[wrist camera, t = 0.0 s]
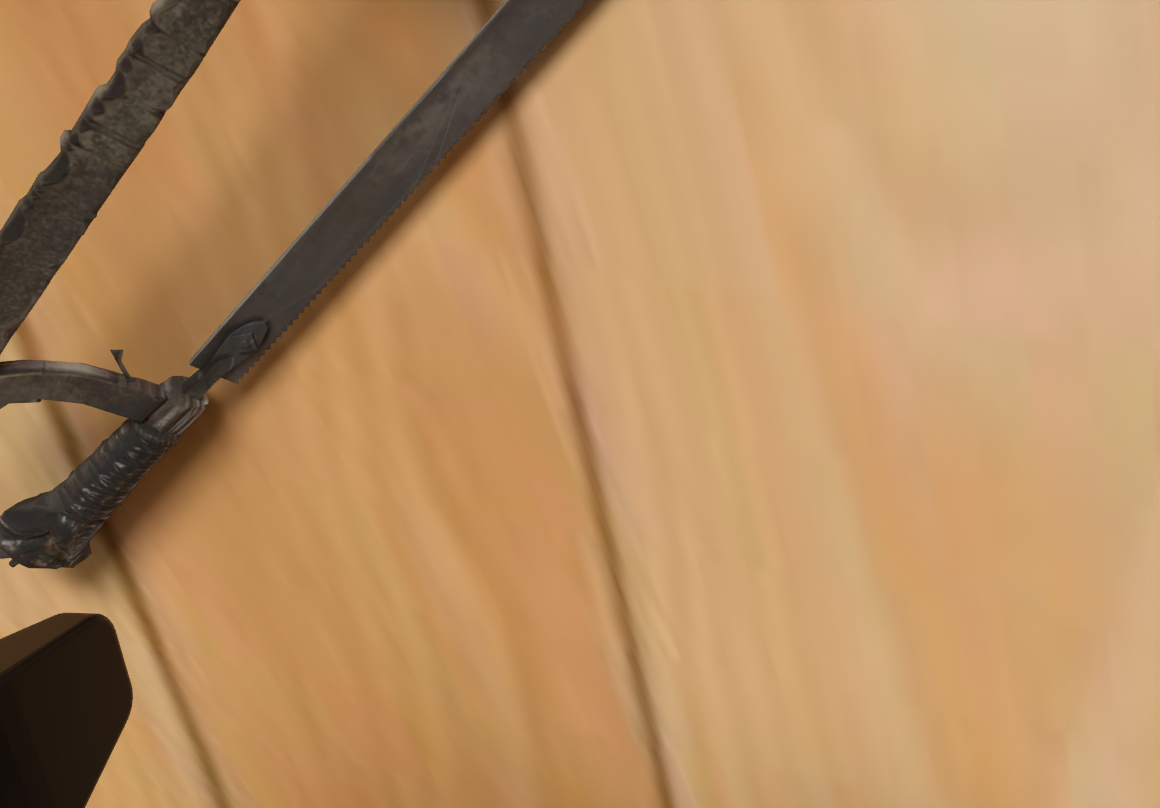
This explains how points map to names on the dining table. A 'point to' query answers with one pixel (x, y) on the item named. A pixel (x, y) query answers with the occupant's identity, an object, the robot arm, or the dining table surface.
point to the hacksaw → (162, 412)
